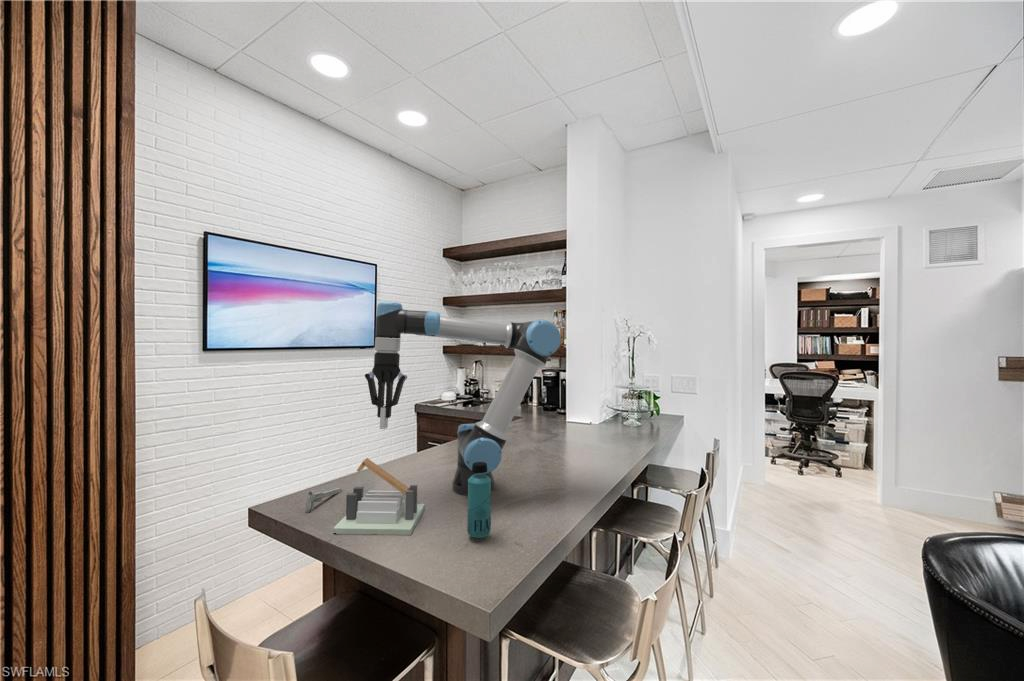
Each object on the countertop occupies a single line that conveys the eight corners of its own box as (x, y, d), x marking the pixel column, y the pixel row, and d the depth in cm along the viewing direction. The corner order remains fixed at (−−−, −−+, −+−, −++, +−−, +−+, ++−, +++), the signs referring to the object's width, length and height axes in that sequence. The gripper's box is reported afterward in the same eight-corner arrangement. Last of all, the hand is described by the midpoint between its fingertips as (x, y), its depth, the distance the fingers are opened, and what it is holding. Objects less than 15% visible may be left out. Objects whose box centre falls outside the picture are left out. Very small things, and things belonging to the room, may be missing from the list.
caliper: (309, 514, 128) (309, 493, 128) (305, 513, 128) (306, 493, 128) (343, 490, 148) (344, 472, 148) (340, 490, 149) (341, 472, 149)
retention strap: (408, 502, 125) (416, 492, 125) (406, 506, 122) (413, 496, 122) (360, 467, 125) (367, 457, 125) (356, 470, 122) (363, 460, 122)
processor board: (424, 508, 133) (425, 478, 133) (410, 535, 115) (411, 499, 115) (357, 507, 133) (357, 477, 133) (333, 533, 115) (333, 498, 115)
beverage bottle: (471, 545, 109) (472, 467, 109) (463, 534, 115) (464, 461, 115) (494, 541, 112) (495, 465, 112) (485, 530, 118) (486, 458, 118)
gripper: (411, 352, 135) (407, 427, 135) (371, 350, 136) (367, 424, 135) (404, 353, 127) (400, 431, 127) (361, 351, 128) (357, 429, 128)
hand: (383, 428), depth 131 cm, fingers closed
